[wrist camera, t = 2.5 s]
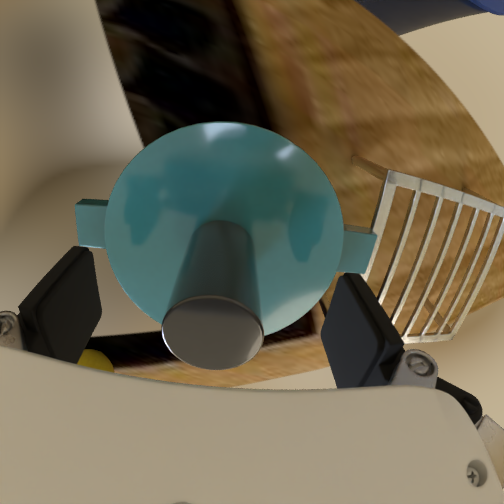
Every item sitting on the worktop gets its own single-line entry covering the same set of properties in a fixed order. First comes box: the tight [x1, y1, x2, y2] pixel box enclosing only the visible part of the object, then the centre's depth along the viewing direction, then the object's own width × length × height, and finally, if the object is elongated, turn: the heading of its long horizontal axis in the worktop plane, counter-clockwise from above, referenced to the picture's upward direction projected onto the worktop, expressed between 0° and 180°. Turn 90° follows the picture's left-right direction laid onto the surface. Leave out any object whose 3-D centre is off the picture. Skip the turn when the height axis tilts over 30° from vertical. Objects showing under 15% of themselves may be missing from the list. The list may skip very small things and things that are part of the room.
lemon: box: [77, 349, 114, 373], centre depth 25 cm, size 6×6×8 cm
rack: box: [319, 155, 504, 344], centre depth 21 cm, size 13×13×6 cm
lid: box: [104, 121, 344, 370], centre depth 11 cm, size 11×11×7 cm
